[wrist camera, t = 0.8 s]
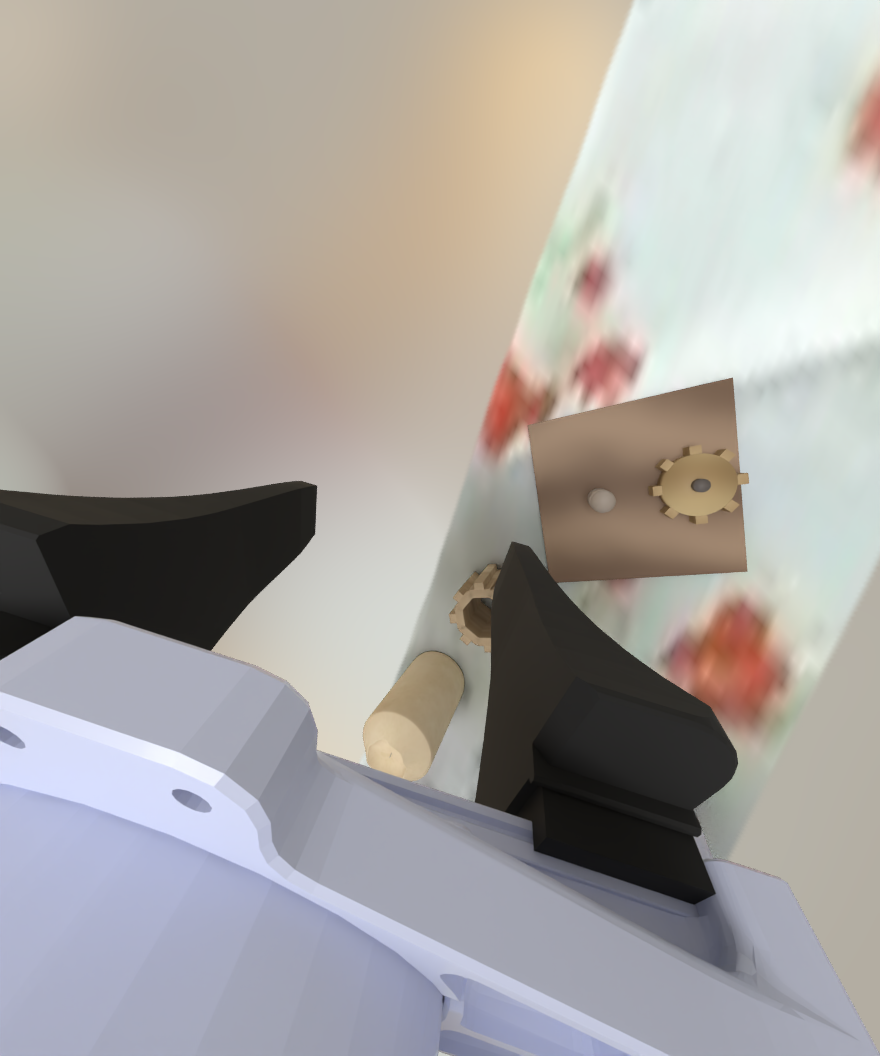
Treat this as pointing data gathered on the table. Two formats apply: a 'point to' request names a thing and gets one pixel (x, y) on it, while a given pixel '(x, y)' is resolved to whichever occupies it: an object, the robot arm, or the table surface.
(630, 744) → the robot arm
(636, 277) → the table surface
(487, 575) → the maple gear
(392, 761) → the candle
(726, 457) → the gear board
